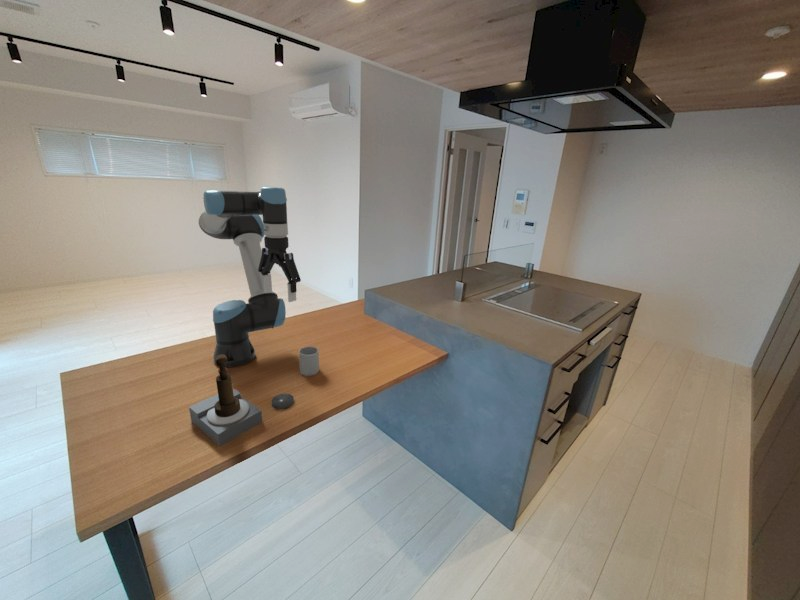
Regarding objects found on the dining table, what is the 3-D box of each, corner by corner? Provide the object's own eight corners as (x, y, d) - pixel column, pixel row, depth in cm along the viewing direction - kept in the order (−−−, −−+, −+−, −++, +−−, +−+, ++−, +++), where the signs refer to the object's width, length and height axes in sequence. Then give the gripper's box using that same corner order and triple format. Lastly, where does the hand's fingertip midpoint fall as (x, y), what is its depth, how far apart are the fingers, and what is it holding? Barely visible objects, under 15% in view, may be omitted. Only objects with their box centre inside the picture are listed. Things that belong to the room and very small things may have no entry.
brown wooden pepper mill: (234, 400, 103) (227, 347, 97) (244, 409, 99) (238, 355, 93) (211, 409, 98) (203, 355, 92) (221, 420, 94) (213, 363, 88)
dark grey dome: (267, 403, 109) (266, 400, 109) (285, 393, 115) (284, 390, 115) (280, 412, 106) (280, 409, 105) (298, 401, 111) (298, 398, 111)
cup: (304, 378, 125) (304, 357, 122) (293, 366, 132) (292, 346, 129) (322, 372, 129) (321, 352, 126) (310, 361, 136) (310, 342, 133)
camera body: (191, 421, 100) (188, 406, 98) (233, 400, 110) (231, 387, 108) (219, 446, 91) (217, 430, 89) (262, 421, 101) (261, 407, 100)
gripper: (244, 232, 114) (249, 291, 121) (290, 242, 101) (294, 307, 108) (263, 230, 120) (268, 286, 127) (310, 240, 107) (312, 302, 114)
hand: (280, 296), depth 118 cm, fingers open, 13 cm apart
